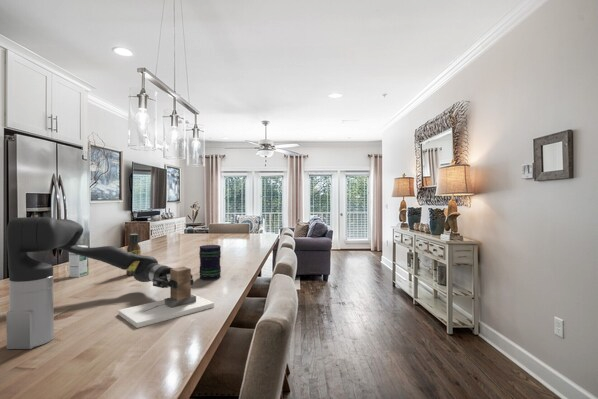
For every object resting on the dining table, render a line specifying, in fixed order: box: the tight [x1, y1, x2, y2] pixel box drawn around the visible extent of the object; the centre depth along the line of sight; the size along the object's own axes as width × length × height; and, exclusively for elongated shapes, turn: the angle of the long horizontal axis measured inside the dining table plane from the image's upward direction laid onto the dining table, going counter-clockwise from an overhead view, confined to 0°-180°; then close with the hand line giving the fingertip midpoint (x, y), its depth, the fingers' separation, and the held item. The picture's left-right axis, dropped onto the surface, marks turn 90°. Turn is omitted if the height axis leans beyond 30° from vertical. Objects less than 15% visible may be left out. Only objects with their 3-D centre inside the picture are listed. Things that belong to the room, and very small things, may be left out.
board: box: [117, 293, 215, 329], centre depth 114 cm, size 26×16×2 cm, turn 136°
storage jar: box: [198, 244, 222, 281], centre depth 160 cm, size 10×10×15 cm
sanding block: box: [164, 266, 197, 308], centre depth 117 cm, size 9×5×12 cm, turn 136°
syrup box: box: [68, 244, 90, 278], centre depth 164 cm, size 6×6×14 cm
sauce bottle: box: [125, 233, 141, 276], centre depth 168 cm, size 6×6×20 cm
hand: (184, 283), depth 116 cm, fingers closed on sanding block, 5 cm apart
